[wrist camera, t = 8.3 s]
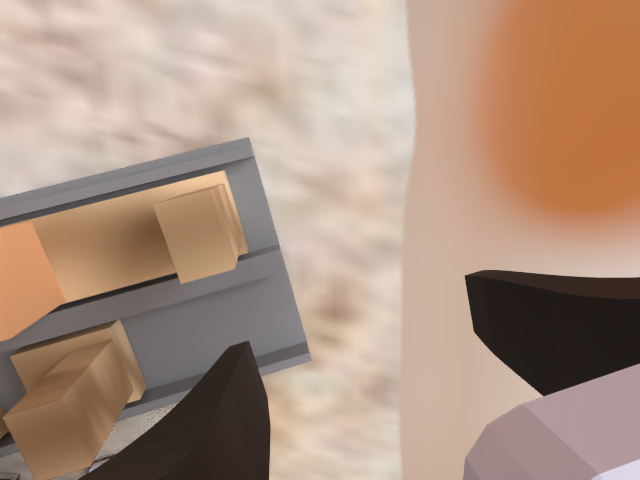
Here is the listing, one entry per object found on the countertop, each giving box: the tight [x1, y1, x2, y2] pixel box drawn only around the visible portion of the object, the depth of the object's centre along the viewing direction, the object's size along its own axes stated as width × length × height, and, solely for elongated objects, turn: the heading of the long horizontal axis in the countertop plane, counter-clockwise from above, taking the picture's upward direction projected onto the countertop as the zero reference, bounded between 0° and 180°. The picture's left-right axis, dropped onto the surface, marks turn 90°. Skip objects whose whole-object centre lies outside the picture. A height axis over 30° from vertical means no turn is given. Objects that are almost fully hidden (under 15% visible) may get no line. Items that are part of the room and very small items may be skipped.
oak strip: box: [0, 170, 248, 304], centre depth 16 cm, size 4×12×6 cm, turn 104°
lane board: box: [0, 137, 312, 457], centre depth 19 cm, size 12×22×2 cm, turn 104°
